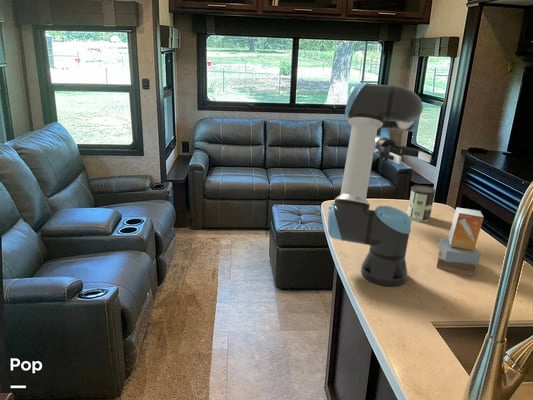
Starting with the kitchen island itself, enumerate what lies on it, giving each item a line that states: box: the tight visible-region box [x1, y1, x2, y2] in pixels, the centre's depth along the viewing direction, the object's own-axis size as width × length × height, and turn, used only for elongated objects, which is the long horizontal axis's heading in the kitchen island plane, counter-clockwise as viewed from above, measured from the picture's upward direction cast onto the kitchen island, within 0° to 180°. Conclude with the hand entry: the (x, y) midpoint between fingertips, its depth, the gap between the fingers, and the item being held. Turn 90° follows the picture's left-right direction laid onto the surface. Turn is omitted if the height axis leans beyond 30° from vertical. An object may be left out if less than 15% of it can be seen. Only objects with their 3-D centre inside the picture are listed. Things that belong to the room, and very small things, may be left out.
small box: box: [447, 206, 485, 251], centre depth 148 cm, size 8×6×13 cm
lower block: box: [436, 250, 476, 277], centre depth 152 cm, size 12×12×4 cm
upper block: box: [438, 237, 481, 266], centre depth 151 cm, size 11×11×4 cm
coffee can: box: [406, 185, 436, 223], centre depth 192 cm, size 10×10×14 cm
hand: (415, 159), depth 158 cm, fingers open, 13 cm apart
